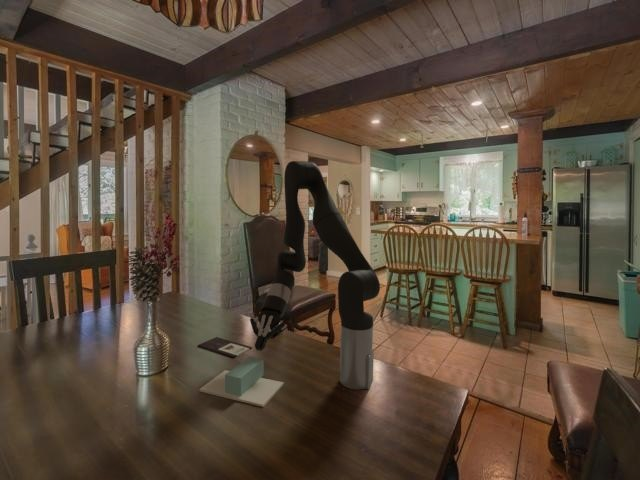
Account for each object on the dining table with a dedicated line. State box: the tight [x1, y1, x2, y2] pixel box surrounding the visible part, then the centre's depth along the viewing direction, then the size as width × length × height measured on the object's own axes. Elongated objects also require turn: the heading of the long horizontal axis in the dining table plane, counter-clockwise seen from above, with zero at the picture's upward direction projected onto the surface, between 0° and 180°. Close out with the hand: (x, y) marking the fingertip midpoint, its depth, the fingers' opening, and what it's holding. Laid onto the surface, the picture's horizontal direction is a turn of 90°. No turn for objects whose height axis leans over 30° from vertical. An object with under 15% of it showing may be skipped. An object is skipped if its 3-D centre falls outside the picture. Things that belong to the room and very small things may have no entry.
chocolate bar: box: [197, 336, 253, 359], centre depth 119 cm, size 9×1×18 cm
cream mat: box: [198, 369, 285, 408], centre depth 92 cm, size 20×12×1 cm, turn 70°
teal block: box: [225, 356, 265, 396], centre depth 94 cm, size 5×5×12 cm
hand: (258, 349), depth 100 cm, fingers closed
